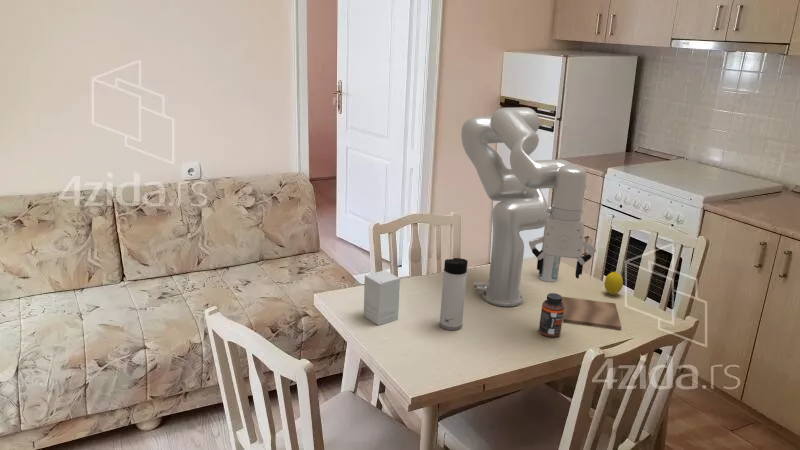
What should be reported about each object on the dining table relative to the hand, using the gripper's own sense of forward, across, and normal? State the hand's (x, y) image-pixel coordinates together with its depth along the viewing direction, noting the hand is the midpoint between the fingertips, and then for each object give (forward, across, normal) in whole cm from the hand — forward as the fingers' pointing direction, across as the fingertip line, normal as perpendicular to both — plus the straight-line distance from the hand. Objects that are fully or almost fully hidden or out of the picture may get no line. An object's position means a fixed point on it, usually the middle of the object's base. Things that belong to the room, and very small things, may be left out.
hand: (558, 274), depth 172 cm
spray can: (+17, 0, +40) cm, 44 cm away
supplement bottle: (+18, 0, 0) cm, 18 cm away
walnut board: (+18, +12, +16) cm, 27 cm away
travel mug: (+18, -27, -4) cm, 33 cm away
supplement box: (+18, -47, -4) cm, 51 cm away
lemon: (+18, +20, +34) cm, 43 cm away
